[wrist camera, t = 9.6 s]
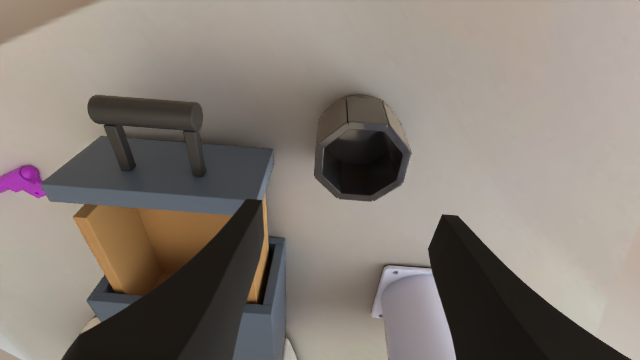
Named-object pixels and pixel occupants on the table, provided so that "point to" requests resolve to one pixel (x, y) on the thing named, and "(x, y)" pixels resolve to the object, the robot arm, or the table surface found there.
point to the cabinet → (257, 320)
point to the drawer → (158, 192)
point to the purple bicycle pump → (23, 181)
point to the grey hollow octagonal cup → (360, 149)
